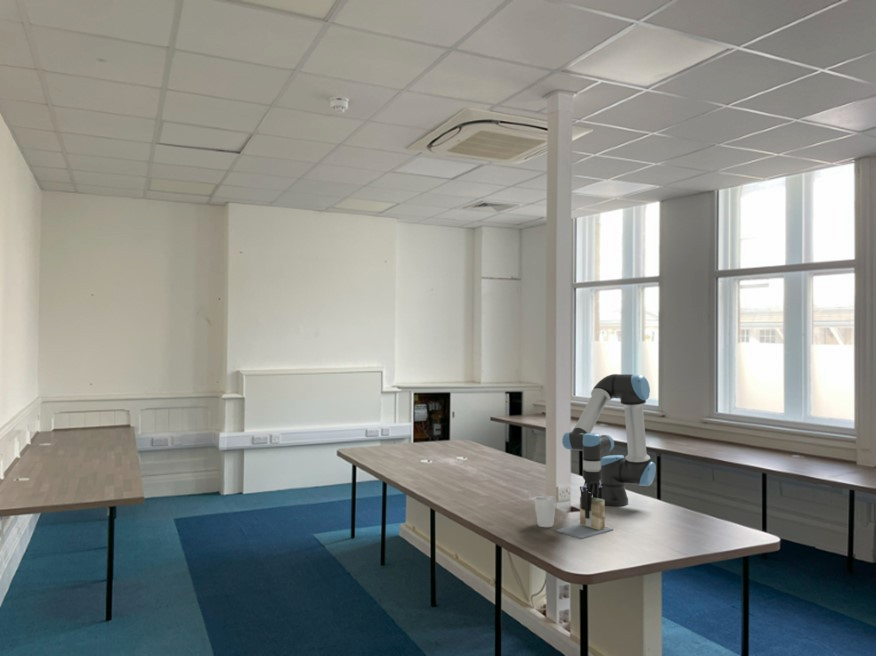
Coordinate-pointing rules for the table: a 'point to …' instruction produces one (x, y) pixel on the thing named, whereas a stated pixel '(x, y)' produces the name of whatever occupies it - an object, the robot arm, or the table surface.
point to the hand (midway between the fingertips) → (592, 524)
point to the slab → (595, 514)
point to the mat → (582, 531)
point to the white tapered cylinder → (545, 510)
